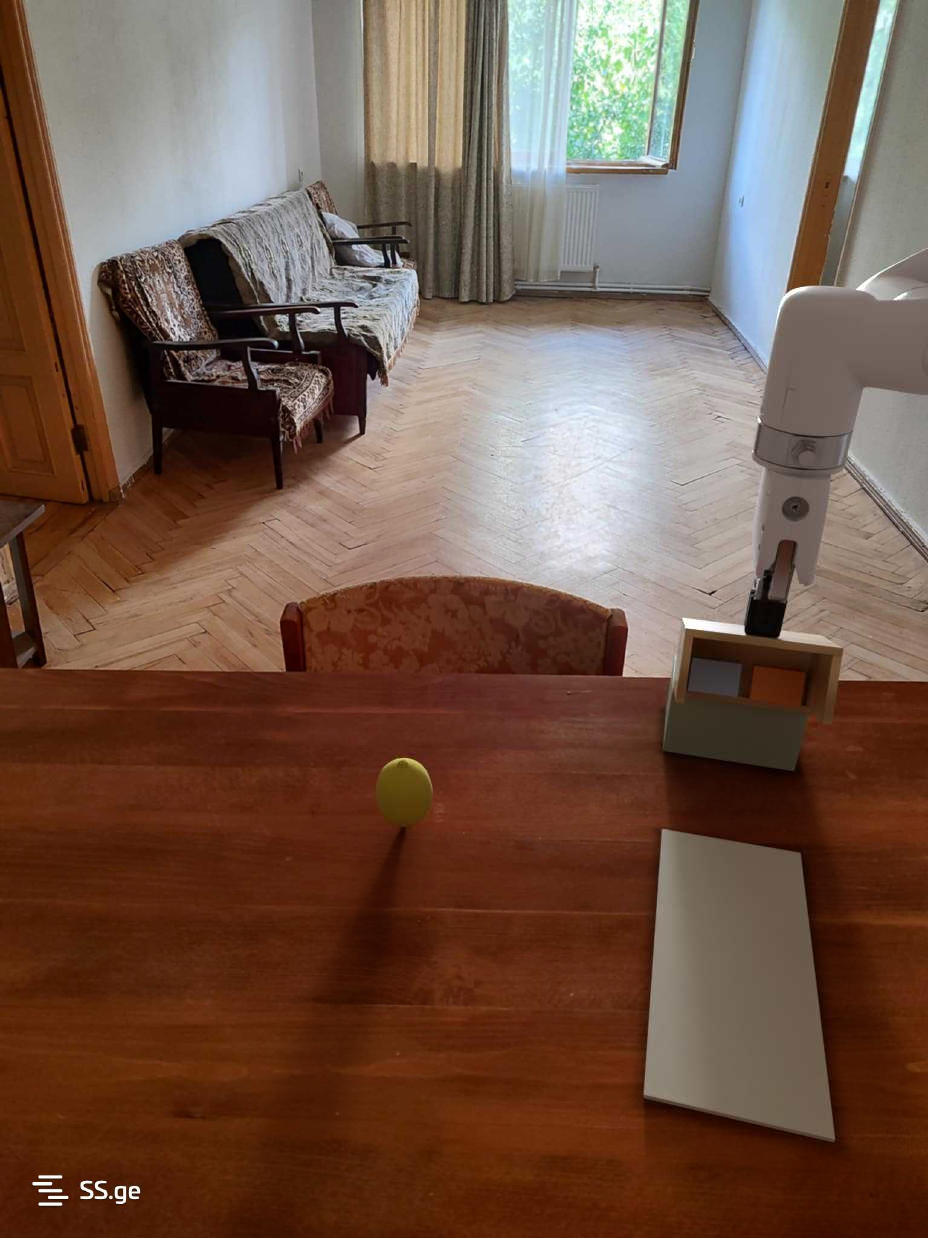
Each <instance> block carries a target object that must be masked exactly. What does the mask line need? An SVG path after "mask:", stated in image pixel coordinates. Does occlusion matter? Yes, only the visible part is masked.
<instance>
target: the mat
mask: <svg viewBox="0 0 928 1238" xmlns="http://www.w3.org/2000/svg"><path fill="white" fill-rule="evenodd" d="M660 839H661V840H660V853H659V867H658V881H657V895H656V896H657V897H656V912H655V923H654V924H655V927H654V937H653V938H654V940H653V953H652V954H653V955H652V966H651V967H652V968H651V981H650V982H651V983H650V999H649V1011H648V1024H647V1025H648V1026H647V1041H646V1055H645V1069H644V1072H645V1073H644V1082H643V1083H644V1084H643V1099H645V1100H650V1101H655V1102H659V1103H663V1104H667V1105H671V1106H676V1107H680V1108H685V1109H689V1110H693V1111H698V1112H701V1113H706V1114H711V1115H714V1116H718V1117H723V1118H726V1119H727V1118H728V1119H732V1120H735V1121H740V1122H744V1123H748V1124H753V1125H758V1126H762V1127H766V1128H771V1129H775V1130H779V1131H783V1132H788V1133H792V1134H797V1135H801V1136H805V1137H808V1138H812V1139H818V1140H822V1141H826V1142H830V1143H835V1141H836V1135H835V1128H834V1127H835V1126H834V1119H833V1109H832V1103H831V1102H832V1101H831V1095H830V1086H829V1085H830V1084H829V1078H828V1069H827V1061H826V1060H827V1059H826V1053H825V1043H824V1037H823V1028H822V1027H823V1026H822V1020H821V1019H822V1018H821V1011H820V1004H819V995H818V994H819V993H818V986H817V979H816V978H817V977H816V969H815V960H814V954H813V946H812V945H813V944H812V936H811V929H810V921H809V919H810V918H809V913H808V904H807V896H806V887H805V878H804V871H803V862H802V854H801V852H797V851H792V850H785V849H780V848H775V847H770V846H764V845H757V844H751V843H746V842H739V841H734V840H730V839H729V840H728V839H723V838H717V837H711V836H705V835H700V834H694V833H693V834H692V833H688V832H683V831H682V832H681V831H676V830H670V829H666V828H665V829H664V828H662V829H661V838H660Z"/></svg>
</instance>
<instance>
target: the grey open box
mask: <svg viewBox="0 0 928 1238" xmlns="http://www.w3.org/2000/svg"><path fill="white" fill-rule="evenodd" d="M676 660H677V654H674V656H673V662H672V668H671V673H670V674H671V676H670V682H669V687H668V694H667V701H666V707H665V718H664V732H663V744H662V751H663V752H669V753H674V754H681V755H686V756H694V757H701V758H706V759H712V760H720V761H725V762H731V763H737V764H745V765H752V766H757V767H764V768H771V769H777V770H783V771H788V772H789V771H790V772H795V771H796V766H797V762H798V758H799V755H800V750H801V747H802V743H803V739H804V736H805V730H806V727H807V723H808V720H809V715H810V714H804V713H797V712H790V711H783V710H776V709H769V708H762V707H755V706H748V705H741V704H734V703H727V702H720V701H713V700H706V699H699V698H692V697H685V700H684V704H680V703H676V702H675V695H673V693H672V689H673V682H674V675H675V667H676Z"/></svg>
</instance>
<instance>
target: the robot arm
mask: <svg viewBox="0 0 928 1238" xmlns="http://www.w3.org/2000/svg"><path fill="white" fill-rule="evenodd" d="M865 388H866V389H867V388H872V389H880V390H887V391H892V392H898V393H903V394H910V395H918V396H928V247H926V248H924V249H922V250H920V251H917V252H916V253H913V254H911V255H910V256H908V257H906V258H904V259H902V260H900V261H898V262H897V263H895V264H893V265H891V266H889V267H887V268H885V269H883V270H881V271H880V272H878V273H876V274H875V275H873V276H872V277H870V278H869V279H867V280H866V281H865V282H863V283H862V284H861V285H860V286H859V287H858V288H851V287H843V286H836V285H835V286H833V285H807V286H800V287H797V288H794V289H792V290H790V291H789V292H787V293H786V294H785V296H783V298H782V300H781V301H780V304H779V307H778V311H777V314H776V319H775V326H774V332H773V336H772V342H771V347H770V353H769V358H768V363H767V368H766V375H765V381H764V386H763V391H762V397H761V402H760V408H759V413H758V418H757V422H756V423H757V424H756V429H755V433H754V440H753V445H752V451H751V459H752V460H753V461H754V462H755V463H756V464H757V465H759V466H761V467H762V473H761V477H760V482H759V487H758V493H757V499H756V505H755V510H754V518H753V519H754V520H753V525H752V526H753V527H752V537H751V548H752V549H751V550H752V563H753V573H754V577H753V584H752V586H753V587H752V588H750V590H749V595H748V600H747V605H746V611H745V616H744V621H743V625H744V632H745V634H749V635H757V636H764V637H772V638H778V637H779V636H780V633H781V630H782V628H783V623H784V619H785V615H786V610H787V605H788V596H789V593H790V589H791V585H792V581H793V578H794V573H796V576H797V580H798V584H799V585H803V586H804V587H809V586H811V585H812V584H813V583H814V580H815V575H816V571H817V565H818V560H819V559H818V558H819V553H820V548H821V543H822V540H823V539H822V538H823V533H824V528H825V524H826V523H825V522H826V517H827V512H828V506H829V498H830V491H831V482H832V480H831V479H832V476H833V475H836V474H839V473H841V472H843V471H844V469H845V466H846V462H847V458H848V453H849V449H850V445H851V441H852V437H853V433H854V428H855V425H856V421H857V416H858V412H859V408H860V404H861V401H862V400H861V398H862V396H863V392H864V389H865ZM795 571H796V572H795Z"/></svg>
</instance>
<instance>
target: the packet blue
mask: <svg viewBox="0 0 928 1238" xmlns="http://www.w3.org/2000/svg"><path fill="white" fill-rule="evenodd" d="M741 670H742V663H741V662H740V661H733V660H725V659H718V658H710V657H703V656H695V655H692V656H691V661H690V669H689V676H688V683H687V689H688V691H694V692H702V693H709V694H716V695H723V696H730V697H738V690H739V683H740V677H741Z"/></svg>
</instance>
